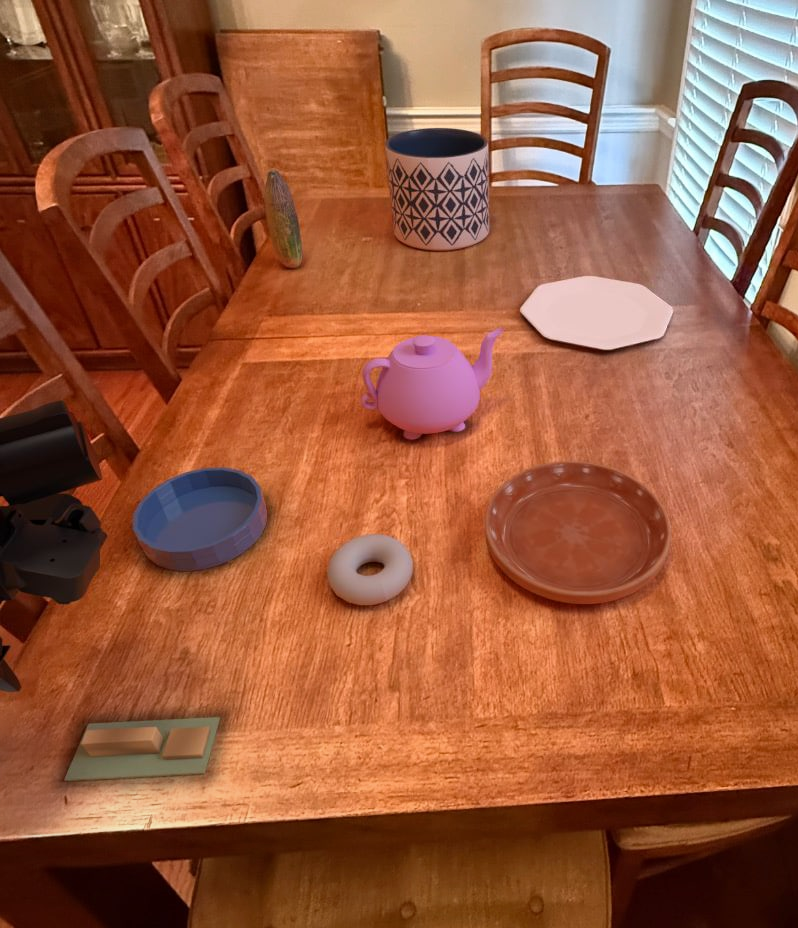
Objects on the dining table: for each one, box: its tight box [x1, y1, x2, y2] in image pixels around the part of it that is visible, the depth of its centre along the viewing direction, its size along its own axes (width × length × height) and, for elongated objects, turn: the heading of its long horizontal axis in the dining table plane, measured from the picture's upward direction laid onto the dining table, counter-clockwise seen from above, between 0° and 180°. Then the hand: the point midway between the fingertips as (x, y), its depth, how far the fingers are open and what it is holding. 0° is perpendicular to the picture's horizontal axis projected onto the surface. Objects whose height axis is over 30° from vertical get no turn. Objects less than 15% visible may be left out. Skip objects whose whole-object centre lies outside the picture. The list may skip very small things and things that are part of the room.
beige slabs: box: [80, 727, 211, 760], centre depth 65 cm, size 11×3×2 cm, turn 94°
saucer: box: [484, 460, 672, 605], centre depth 86 cm, size 23×23×4 cm
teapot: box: [360, 328, 505, 440], centre depth 103 cm, size 22×16×14 cm
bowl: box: [132, 466, 268, 572], centre depth 88 cm, size 15×15×4 cm
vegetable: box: [263, 169, 304, 269], centre depth 142 cm, size 6×6×20 cm
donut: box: [326, 533, 414, 606], centre depth 82 cm, size 10×3×10 cm
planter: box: [384, 127, 490, 252], centre depth 157 cm, size 22×22×20 cm
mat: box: [63, 716, 221, 782], centre depth 66 cm, size 13×6×1 cm, turn 93°
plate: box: [519, 275, 674, 352], centre depth 133 cm, size 28×28×2 cm
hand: (41, 643), depth 62 cm, fingers open, 9 cm apart
